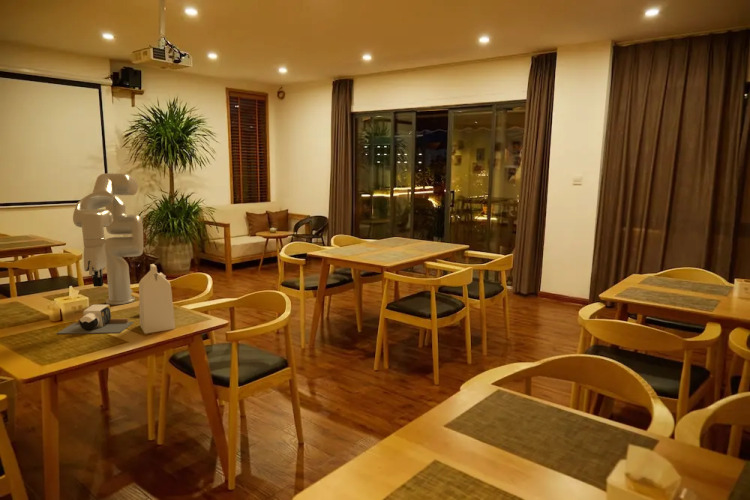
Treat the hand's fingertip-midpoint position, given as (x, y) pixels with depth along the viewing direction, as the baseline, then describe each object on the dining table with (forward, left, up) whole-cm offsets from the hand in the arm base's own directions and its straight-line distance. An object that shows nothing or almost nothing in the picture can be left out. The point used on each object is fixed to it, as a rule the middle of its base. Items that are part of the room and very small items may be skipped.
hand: (98, 285), depth 203 cm
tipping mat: (+5, 0, -17) cm, 17 cm away
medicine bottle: (-2, 0, -12) cm, 12 cm away
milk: (+4, +24, -17) cm, 30 cm away
